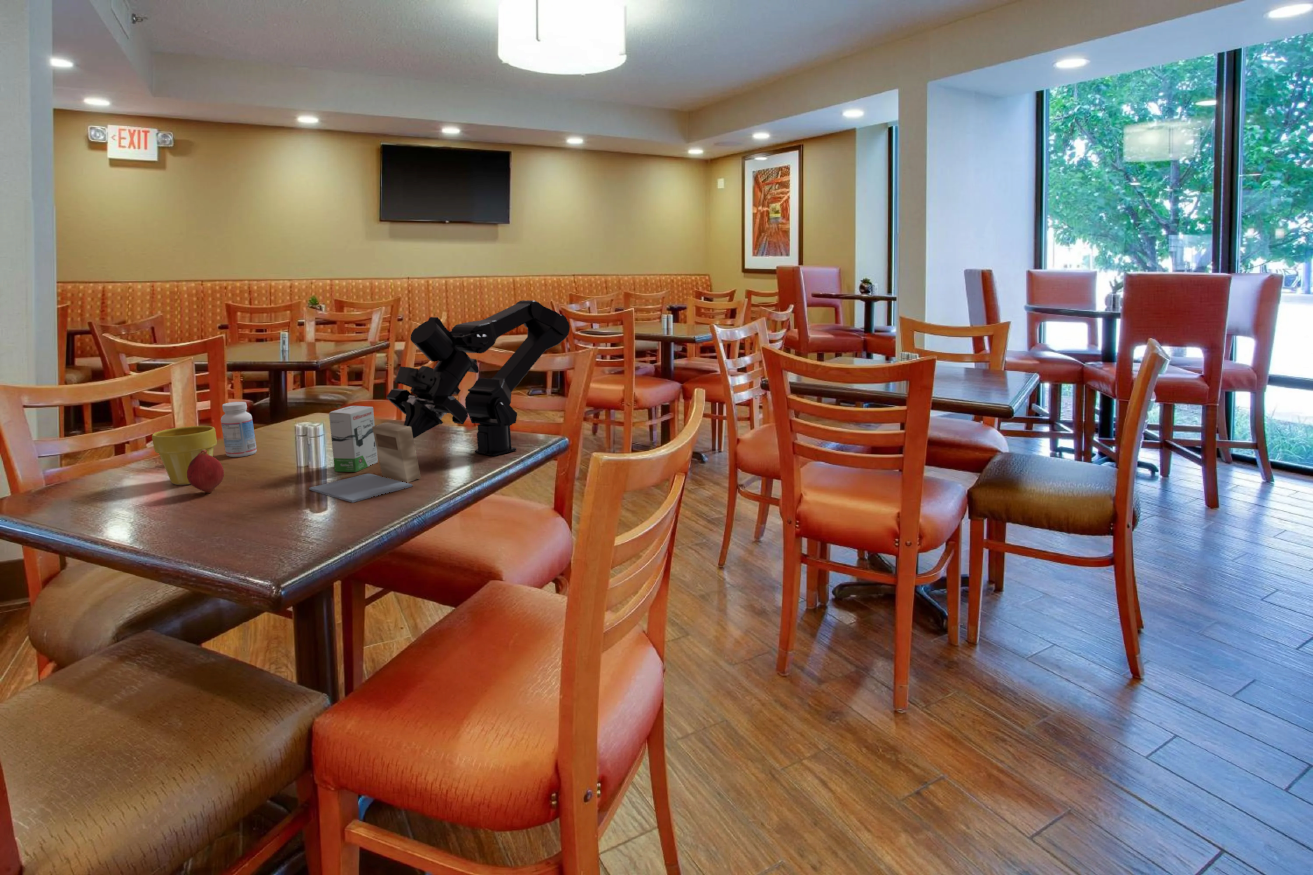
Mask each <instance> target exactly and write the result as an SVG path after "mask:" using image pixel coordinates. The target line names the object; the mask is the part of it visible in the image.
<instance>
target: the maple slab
mask: <svg viewBox="0 0 1313 875" xmlns="http://www.w3.org/2000/svg"><path fill="white" fill-rule="evenodd" d="M372 429H373V433H374V438H375V443H376V448H377V457H378V462H379V468H380V472H381V477H382V476H383V477H385V478H386V477H387V478H389V479H390V478H391V479H393V480H394V479H395V480H397V481H401V482H402V481H403V482H405V483H406V482H407V483H411V482H413V481H417V480H419V479H421V477H422V476H421V472H420V466H419V461H418V456H417V451H416V445H415V440H414V439H415V438H414V439H413V434H412V429H411V427H410V426H404V424H398V423H393V422H388V421H387V422H382V423H379V424H377V425H375V426H373V427H372Z"/></svg>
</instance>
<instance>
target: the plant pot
mask: <svg viewBox="0 0 1313 875" xmlns="http://www.w3.org/2000/svg"><path fill="white" fill-rule="evenodd" d="M151 439H152V445H153V449H154V452H155V453H156V454H158V455H159V457H160V459H161V461H162V464H163V466H164V469H165V471H166V473H167V475H168V478H169V480H170V483H171V484H173V485H177V486H183V485H184V486H185V485H186V486H187V485H191V484H190V483H189V481H188V478H187V470H188V466H189V464H190V462H191V461H192V460H193V459H194V458H195V457H196V456H197V455H198V454H199V453H200V452H201V450H205V449H206V451H207V454H208V455H210V456H212V457H214V448H215V447H216V446H217V444H218V443H217V442H218V441H217V432H216V428H215V427H214V426H210V425H191V426H180V427H173V428H168V429H163V430H159V431H156V432H153V434H152V435H151Z"/></svg>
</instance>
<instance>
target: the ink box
mask: <svg viewBox="0 0 1313 875" xmlns="http://www.w3.org/2000/svg"><path fill="white" fill-rule="evenodd" d="M374 415H375V414H374V406H366V405H365V406H363V405H350V406H349V405H348V406H346V407H343V408H339V409H335V410H332V411H330V412H329V413H328V420H329V427H330V435H331V436H330V437H331V445H332V446H331V447H332V457H333V466H334V471H335V472H338V473H339V472H340V473H343V472H344V473H345V472H347V473H350V472H351V473H358V472H359V471H362V470H364V469H366V468H368V467H371V466H373V465H375V464H377V463H378V462H379V458H378V453H377V448H376V443H375V438H374V433H373V429H372V427H373V426H376V425H375V416H374ZM372 464H373V465H372ZM370 465H371V466H370Z"/></svg>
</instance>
